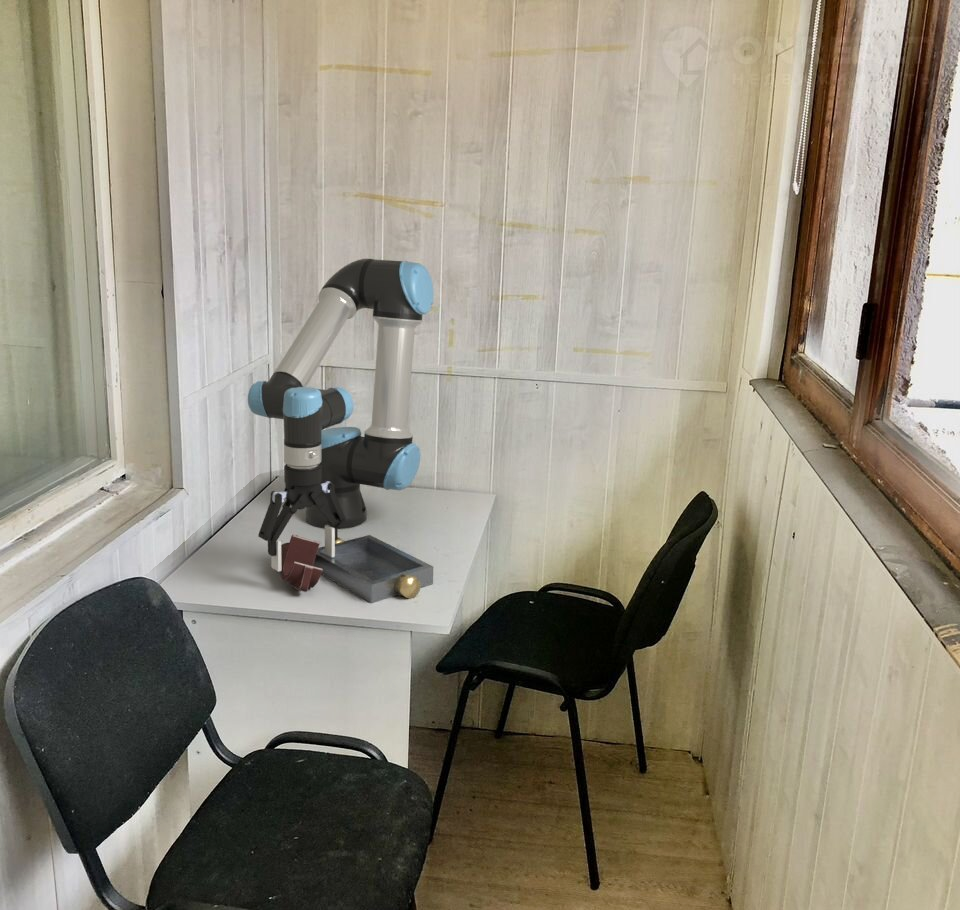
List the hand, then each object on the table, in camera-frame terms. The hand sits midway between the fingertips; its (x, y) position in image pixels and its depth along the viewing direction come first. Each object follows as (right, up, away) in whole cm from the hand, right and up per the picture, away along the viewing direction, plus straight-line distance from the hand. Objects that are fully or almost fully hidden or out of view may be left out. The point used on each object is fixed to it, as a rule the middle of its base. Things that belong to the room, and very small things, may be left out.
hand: (303, 562), depth 193 cm
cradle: (+13, -3, +5) cm, 15 cm away
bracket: (-1, -4, +1) cm, 5 cm away
